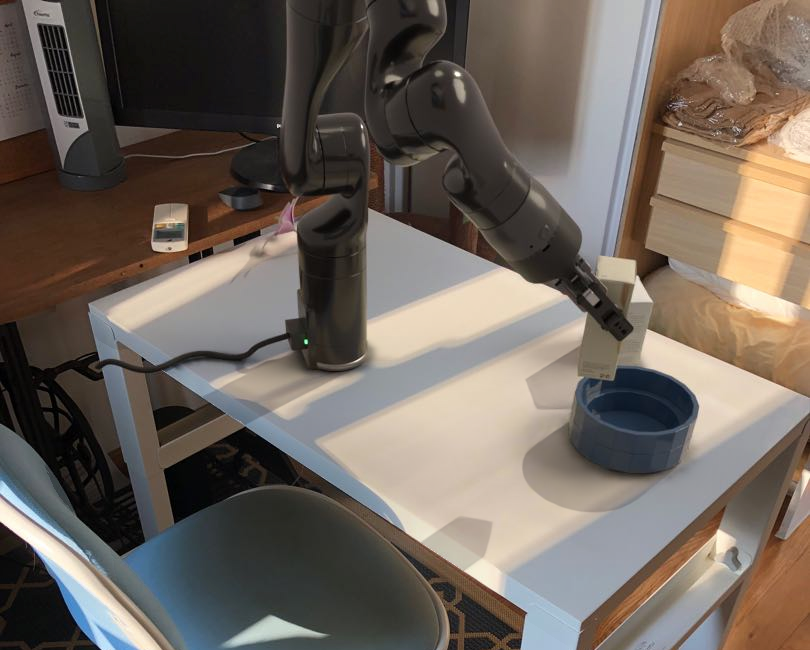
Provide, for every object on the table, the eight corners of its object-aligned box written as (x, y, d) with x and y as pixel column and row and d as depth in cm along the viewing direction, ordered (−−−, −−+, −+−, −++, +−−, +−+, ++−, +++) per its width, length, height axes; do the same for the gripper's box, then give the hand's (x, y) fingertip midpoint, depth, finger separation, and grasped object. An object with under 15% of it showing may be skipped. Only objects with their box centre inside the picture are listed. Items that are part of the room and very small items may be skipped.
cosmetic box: (613, 383, 105) (636, 285, 96) (575, 377, 105) (594, 279, 97) (616, 354, 109) (637, 258, 101) (579, 348, 110) (598, 253, 101)
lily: (298, 232, 165) (268, 186, 159) (344, 224, 157) (314, 176, 151) (263, 276, 160) (230, 231, 154) (308, 270, 152) (275, 223, 146)
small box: (588, 339, 138) (600, 274, 131) (624, 338, 139) (638, 274, 131) (601, 368, 132) (614, 302, 125) (638, 367, 133) (654, 301, 126)
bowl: (599, 486, 113) (609, 443, 108) (549, 415, 123) (556, 374, 119) (709, 465, 116) (722, 424, 112) (651, 398, 127) (661, 358, 123)
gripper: (476, 225, 98) (559, 309, 109) (526, 287, 89) (612, 374, 99) (528, 171, 96) (608, 263, 107) (585, 230, 86) (667, 324, 97)
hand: (610, 316), depth 103 cm, fingers closed on cosmetic box, 7 cm apart
